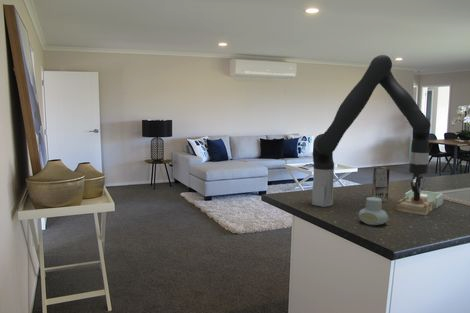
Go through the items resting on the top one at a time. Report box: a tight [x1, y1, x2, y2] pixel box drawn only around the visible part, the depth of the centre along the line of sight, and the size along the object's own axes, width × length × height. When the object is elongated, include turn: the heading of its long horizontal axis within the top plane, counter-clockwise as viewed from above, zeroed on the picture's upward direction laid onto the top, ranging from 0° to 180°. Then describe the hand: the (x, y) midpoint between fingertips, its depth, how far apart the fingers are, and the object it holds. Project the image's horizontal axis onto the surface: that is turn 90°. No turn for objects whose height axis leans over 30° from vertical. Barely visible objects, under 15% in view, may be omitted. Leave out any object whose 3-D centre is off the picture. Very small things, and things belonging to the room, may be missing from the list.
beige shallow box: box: [395, 196, 435, 216], centre depth 170 cm, size 14×12×4 cm
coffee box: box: [371, 166, 391, 203], centre depth 188 cm, size 9×6×16 cm
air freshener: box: [358, 196, 389, 226], centre depth 149 cm, size 11×8×10 cm
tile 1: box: [411, 196, 426, 203], centre depth 173 cm, size 5×5×2 cm
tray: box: [403, 189, 444, 210], centre depth 181 cm, size 13×14×5 cm
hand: (416, 200), depth 170 cm, fingers closed
